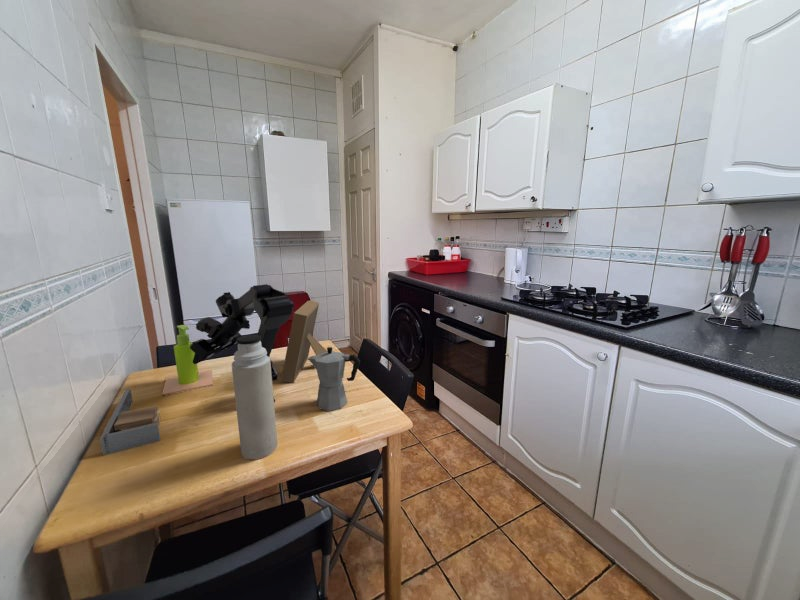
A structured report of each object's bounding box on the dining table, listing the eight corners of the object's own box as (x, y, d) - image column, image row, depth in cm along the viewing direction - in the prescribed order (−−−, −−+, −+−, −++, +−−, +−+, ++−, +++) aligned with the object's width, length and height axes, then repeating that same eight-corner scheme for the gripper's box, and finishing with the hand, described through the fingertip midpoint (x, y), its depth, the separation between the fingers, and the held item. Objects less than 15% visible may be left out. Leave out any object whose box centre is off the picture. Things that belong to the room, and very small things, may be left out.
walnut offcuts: (158, 431, 84) (155, 417, 83) (116, 442, 79) (113, 426, 79) (161, 416, 91) (159, 402, 90) (123, 425, 86) (120, 411, 86)
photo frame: (281, 383, 111) (276, 313, 106) (297, 359, 132) (294, 300, 128) (324, 382, 112) (321, 313, 107) (333, 359, 133) (331, 300, 128)
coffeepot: (306, 411, 93) (302, 353, 90) (314, 395, 102) (311, 342, 99) (359, 411, 93) (357, 352, 90) (362, 395, 102) (361, 342, 99)
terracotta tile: (212, 385, 109) (212, 383, 109) (162, 395, 102) (162, 394, 102) (212, 371, 121) (211, 369, 121) (166, 379, 114) (166, 377, 114)
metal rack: (159, 440, 80) (157, 424, 79) (103, 455, 74) (99, 438, 74) (170, 394, 103) (168, 381, 102) (127, 402, 98) (125, 389, 97)
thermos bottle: (250, 438, 81) (238, 332, 75) (281, 437, 81) (273, 331, 75) (235, 460, 73) (221, 343, 67) (270, 459, 73) (259, 342, 68)
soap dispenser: (183, 386, 107) (175, 329, 103) (176, 381, 111) (168, 325, 107) (202, 380, 112) (195, 325, 108) (195, 375, 116) (187, 322, 112)
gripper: (230, 304, 114) (205, 333, 118) (191, 317, 96) (163, 350, 99) (253, 326, 115) (228, 354, 118) (218, 343, 97) (189, 375, 100)
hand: (203, 357), depth 109 cm, fingers open, 9 cm apart
